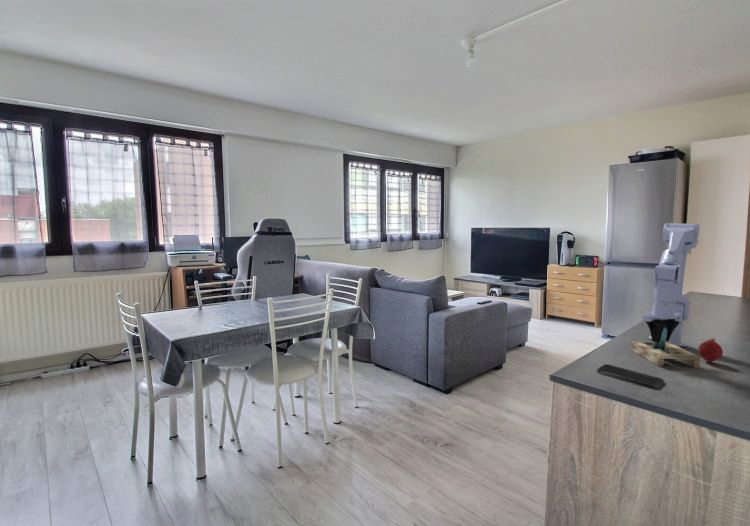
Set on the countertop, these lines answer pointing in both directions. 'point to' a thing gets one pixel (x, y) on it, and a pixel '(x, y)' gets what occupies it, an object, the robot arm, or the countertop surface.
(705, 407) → the countertop surface
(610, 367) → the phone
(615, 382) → the countertop surface
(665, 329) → the peg
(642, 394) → the countertop surface
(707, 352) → the onion
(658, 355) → the beige wooden frame
